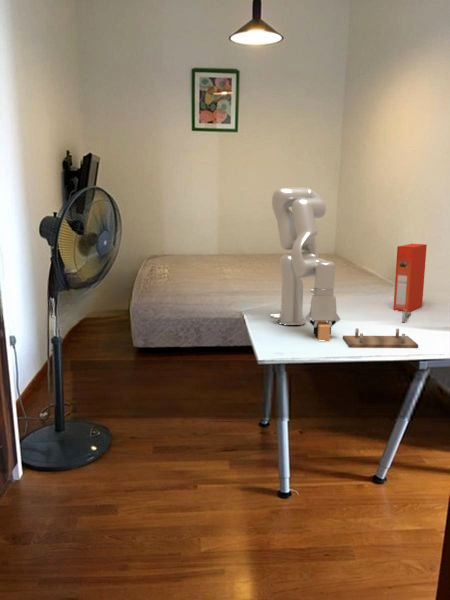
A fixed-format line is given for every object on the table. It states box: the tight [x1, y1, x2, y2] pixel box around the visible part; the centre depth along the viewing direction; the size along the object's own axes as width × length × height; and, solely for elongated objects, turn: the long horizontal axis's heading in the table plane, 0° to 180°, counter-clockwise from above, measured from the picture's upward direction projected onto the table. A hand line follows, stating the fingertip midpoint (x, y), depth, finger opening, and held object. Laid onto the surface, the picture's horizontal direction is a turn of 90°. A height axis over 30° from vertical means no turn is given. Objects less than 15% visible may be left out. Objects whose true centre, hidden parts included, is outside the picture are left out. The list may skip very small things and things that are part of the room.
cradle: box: [342, 328, 419, 349], centre depth 196 cm, size 26×12×5 cm, turn 89°
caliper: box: [401, 309, 412, 324], centre depth 235 cm, size 20×1×6 cm, turn 151°
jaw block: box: [317, 321, 331, 342], centre depth 204 cm, size 4×12×6 cm, turn 178°
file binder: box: [393, 243, 428, 313], centre depth 251 cm, size 8×17×32 cm, turn 138°
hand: (322, 335), depth 205 cm, fingers closed on jaw block, 4 cm apart
